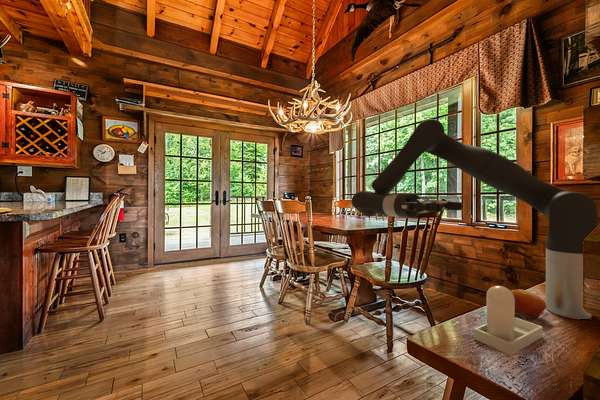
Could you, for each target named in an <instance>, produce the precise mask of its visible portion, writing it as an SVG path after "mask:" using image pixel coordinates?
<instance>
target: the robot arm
mask: <svg viewBox="0 0 600 400" xmlns="http://www.w3.org/2000/svg"><path fill="white" fill-rule="evenodd" d="M424 153H427V154H429V155H432V156H435V157H437V158H439V159H442V160H444V161H446V162H448V163H450V164H451V165H453V166H454V167H456V168H457V169H459V170H461V171H462V172H463V173H465V174H467V175H469V176H471V177H472V178H474V179H476V180H478V181H479V182H481V183H484V184H485V185H486V186H489V187H491V188H493V189H496V190H497V191H498V192H501V193H504V194H507V195H509V196H512V197H514V198H517V199H518V200H521V201H523V202H524V203H526V204H527V205H529V206H530V207H532V208H534V209H535V210H537V211H538V212H540V213H541V214H542V215H544V216H545V217H547V218H548V234H547V237H546V239H545V304H546V308H545V310H547V311H549V312H551V313H552V314H554V315H558V316H561V317H564V318H569V319H572V320H573V319H574V320H580V319H589V318H590V317H591V314H590V313H588V312H586V311H585V310H584V308H583V241H584V239H585V238H586V237H587V236H588V235H589V234H590V233H591V232H592V231H593V230H594V229H595V228H596V227H597V226H598V227H599V211H598V206H597V203H596V201H595V200H594V198H592V197H591V196H589V195H588V194H586V193H583V192H578V191H567V190H564V189H562V188H560V187H557V186H555V185H552V184H551V183H547V182H545V181H543V180H541V179H539V178H538V177H536V176H534V175H532V174H531V173H530V172H529V171H528V170H526V169H525V168H523V167H522V166H520V165H519V164H517V162H514V161H513V160H511V159H509V158H507V157H506V156H504V155H501V154H499V153H497V152H495V151H493V150H490V149H487V148H484V147H479V146H475V145H471V144H466V143H463V142H462V141H458V140H456V139H455V138H453V137H452V136H450V135H448V134H447V133H445V127H444V124H442V122H441V121H439V119H435V118H430V119H429V118H428V119H425V120H423V121H421V122H420V123H418V125H417V126H416V127H415V129H414V130H413V132H412V134H411V135H410V136H409V138H408V139H407V140H406V143H405V144H404V145H403V146H402V148H401V149H400V151H399V152H398V153H397V154H396V155H395V157H394V158H393V159H392V160H391V161H390V162H389V164H387V165H386V167H385V168H384V169H383V170H382V171H381V172H380V173H379V174H378V175H377V177H375V179H373V181H372V182H371V184H370V185H371V188H372V189H373V190H374V191H369V190H360V191H358V192H357V191H356V192H355V193H354V195H352V197H351V206H352V207H353V208H354V209H355V210H357V211H358V212H359V213H361V214H362V215H364V216H365V217H367V218H370V217H373V216H375V215H379V216H390V217H396V218H407V219H415V218H417V217H418V216H419V215H420V214H425V213H426V214H427V213H433V212H434V213H441V212H442V211H462V210H463V202H461V201H451V200H439V199H428V198H421V197H420V196H419V195H418V194H417V193H415V192H410V193H409V192H397V193H391V191H392V190H394V189H395V188H396V187H397V185H398V184H399V183H400V182H401V181H402V180H403V179H404V178H405V175H406V174H407V173H408V171H409V170H410V169H411V167H412V166H413V165H414V164H415V162H416V161H417V160H418V158H420V157H421V156H422V155H423V154H424Z"/></svg>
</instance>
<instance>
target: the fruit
mask: <svg viewBox="0 0 600 400" xmlns="http://www.w3.org/2000/svg"><path fill="white" fill-rule="evenodd" d="M509 290H510V289H509ZM510 291H511V292H512V294H513V295H514V298H515V315H518V316H520V317H521V318H522V319H523V320H524V321H526V319H537V318H538V317H540V315H541V314H543V312H544V311H545V310H546V301H545V300H543V299H542V298H541V297H540V296H539V295H537V294H534V293H532V292H530V291H527V290H525V289H521V288H519V289H511V290H510Z"/></svg>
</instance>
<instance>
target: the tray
mask: <svg viewBox="0 0 600 400" xmlns="http://www.w3.org/2000/svg"><path fill="white" fill-rule="evenodd" d="M473 329H474V330H473V331H474V339H473V340H476V341H478V342H480V343H482V344H484V345H486V346H489V347H491V348H494V349H496V350H497V351H500V352H503V353H505V354H507V355H509V356H512V355H514V354H516V353H518V352H520V351H521V350H522V349H524V348H527V347H528V346H530V345H532V344H533V343H534V342H537V341H538V340H540V339H542V338H543V337H544V336H543V332H544V330H543V329H544V328H543V326H542V325H538V324H536V323H533V322H530V321H528V320H525V321H524V319H521V318H519V317H515V334H514V340H513V341H512V342H507V341H505V340H503V339H500V338H498V337H495V336H493V335H491V334H488V333H487V322H486V323H484V324H481V325H479V326H476V327H475V328H473Z"/></svg>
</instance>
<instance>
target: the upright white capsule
mask: <svg viewBox="0 0 600 400" xmlns="http://www.w3.org/2000/svg"><path fill="white" fill-rule="evenodd" d="M515 315H516V314H515V298H514V295H513V294H512V292H511V291H510V289H509V288H507V287H505V286H503V285H494V286H490V288H489V289H488V290H487V292H486V323H487V333H488V334H491V335H493V336H495V337H498V338H500V339H503V340H505V341H507V342H512V341H513V340H514V334H515Z"/></svg>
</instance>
